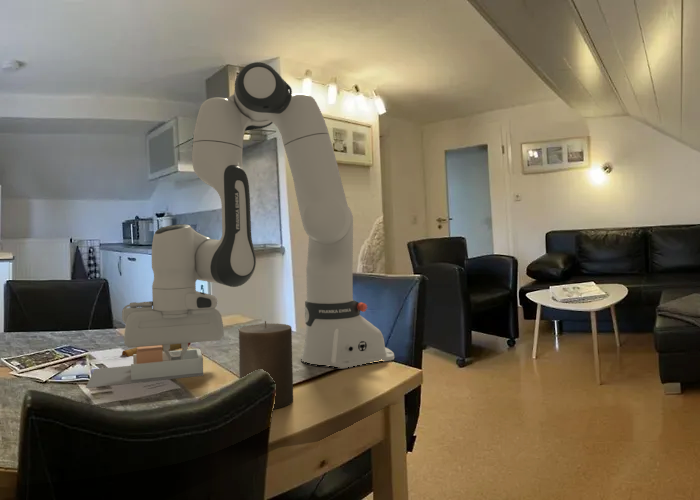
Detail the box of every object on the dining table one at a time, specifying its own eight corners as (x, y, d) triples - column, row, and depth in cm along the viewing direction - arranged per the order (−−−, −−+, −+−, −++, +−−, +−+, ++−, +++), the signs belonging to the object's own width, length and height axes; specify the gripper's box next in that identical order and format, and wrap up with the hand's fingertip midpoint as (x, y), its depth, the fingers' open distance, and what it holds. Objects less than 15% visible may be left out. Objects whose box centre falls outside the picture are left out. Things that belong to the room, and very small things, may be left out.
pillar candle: (296, 407, 92) (295, 323, 91) (240, 412, 89) (239, 326, 89) (289, 391, 101) (288, 315, 100) (238, 395, 99) (237, 317, 98)
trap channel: (199, 365, 120) (199, 346, 120) (204, 382, 107) (203, 361, 107) (94, 375, 113) (94, 355, 112) (85, 395, 99) (84, 372, 99)
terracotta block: (162, 367, 113) (162, 345, 113) (162, 373, 108) (162, 350, 108) (138, 370, 111) (137, 347, 111) (137, 376, 107) (136, 352, 106)
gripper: (120, 305, 104) (122, 372, 105) (224, 299, 111) (225, 362, 112) (122, 300, 110) (124, 365, 111) (221, 295, 117) (222, 356, 118)
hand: (176, 363), depth 111 cm, fingers closed
